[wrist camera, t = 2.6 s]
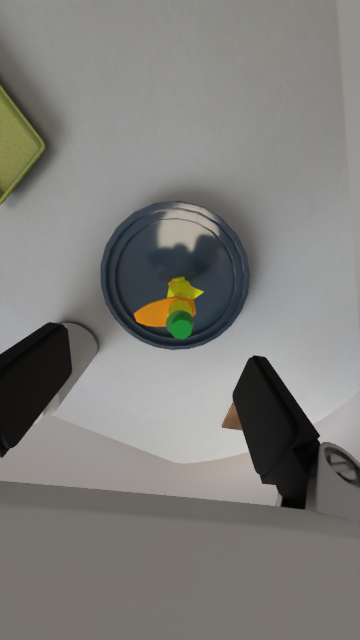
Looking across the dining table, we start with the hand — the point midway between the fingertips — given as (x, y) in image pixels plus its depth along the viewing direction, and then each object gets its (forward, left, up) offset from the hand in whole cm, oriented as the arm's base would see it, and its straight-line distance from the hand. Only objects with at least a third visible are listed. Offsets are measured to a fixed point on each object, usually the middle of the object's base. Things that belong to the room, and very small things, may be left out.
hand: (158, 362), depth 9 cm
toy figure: (0, 0, -16) cm, 16 cm away
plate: (0, 0, -16) cm, 16 cm away
